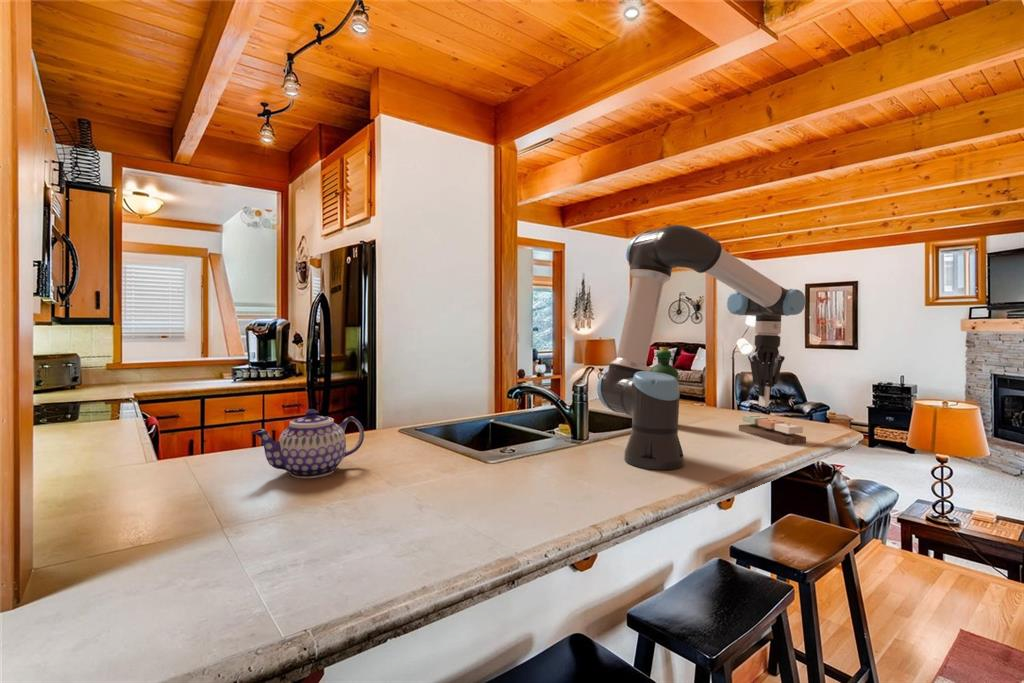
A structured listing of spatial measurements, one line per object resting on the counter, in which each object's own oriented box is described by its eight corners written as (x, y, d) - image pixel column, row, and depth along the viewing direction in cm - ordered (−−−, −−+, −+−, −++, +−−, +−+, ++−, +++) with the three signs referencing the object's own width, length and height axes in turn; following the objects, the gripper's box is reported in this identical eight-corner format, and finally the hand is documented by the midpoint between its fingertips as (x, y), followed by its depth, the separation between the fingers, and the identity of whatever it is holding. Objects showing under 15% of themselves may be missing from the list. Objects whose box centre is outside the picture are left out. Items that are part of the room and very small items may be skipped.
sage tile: (754, 430, 168) (754, 418, 168) (742, 427, 173) (742, 415, 173) (767, 430, 169) (768, 417, 169) (755, 426, 175) (755, 414, 174)
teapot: (354, 456, 132) (355, 400, 132) (374, 471, 120) (375, 409, 119) (248, 471, 118) (248, 408, 117) (258, 490, 105) (258, 420, 105)
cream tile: (788, 440, 154) (788, 427, 154) (774, 436, 160) (774, 423, 159) (802, 439, 156) (802, 426, 156) (787, 435, 161) (788, 422, 161)
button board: (785, 444, 154) (785, 438, 154) (738, 430, 173) (738, 424, 173) (805, 443, 156) (806, 436, 156) (757, 429, 175) (757, 423, 175)
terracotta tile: (770, 435, 161) (771, 422, 161) (757, 432, 166) (758, 419, 166) (784, 434, 163) (784, 421, 162) (770, 431, 168) (771, 418, 168)
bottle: (673, 422, 186) (676, 346, 184) (680, 428, 175) (682, 348, 174) (644, 421, 187) (646, 346, 186) (649, 427, 176) (651, 347, 175)
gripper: (759, 334, 159) (755, 408, 160) (792, 335, 163) (788, 407, 163) (742, 333, 166) (739, 404, 167) (774, 334, 170) (771, 403, 171)
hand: (763, 405), depth 165 cm, fingers closed
